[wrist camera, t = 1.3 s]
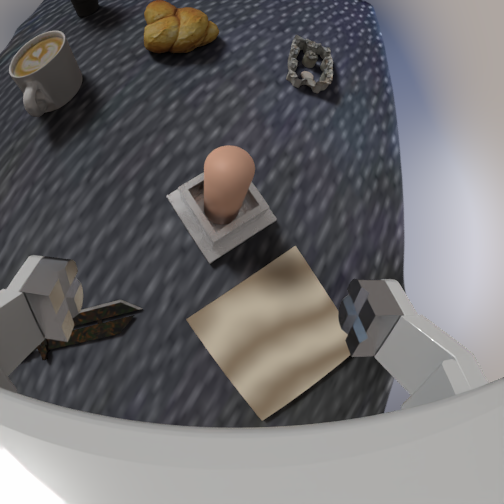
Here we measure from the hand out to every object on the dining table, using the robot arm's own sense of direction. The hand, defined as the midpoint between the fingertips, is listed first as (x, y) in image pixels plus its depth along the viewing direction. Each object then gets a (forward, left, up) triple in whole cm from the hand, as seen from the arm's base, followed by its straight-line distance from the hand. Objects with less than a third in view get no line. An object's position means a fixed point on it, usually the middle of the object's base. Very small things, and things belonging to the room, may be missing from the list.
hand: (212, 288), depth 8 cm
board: (-9, -4, -29) cm, 30 cm away
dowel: (+8, -7, -28) cm, 30 cm away
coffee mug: (+41, +6, -29) cm, 50 cm away
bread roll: (+38, -18, -29) cm, 51 cm away
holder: (+8, -7, -29) cm, 31 cm away
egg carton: (+22, -33, -29) cm, 49 cm away
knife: (+7, +20, -29) cm, 36 cm away
